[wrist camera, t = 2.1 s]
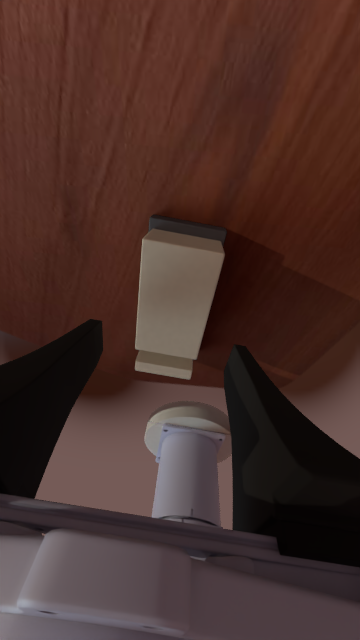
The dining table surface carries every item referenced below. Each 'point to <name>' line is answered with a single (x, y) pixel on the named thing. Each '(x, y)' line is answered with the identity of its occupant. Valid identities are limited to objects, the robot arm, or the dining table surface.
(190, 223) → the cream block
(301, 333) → the dining table surface
